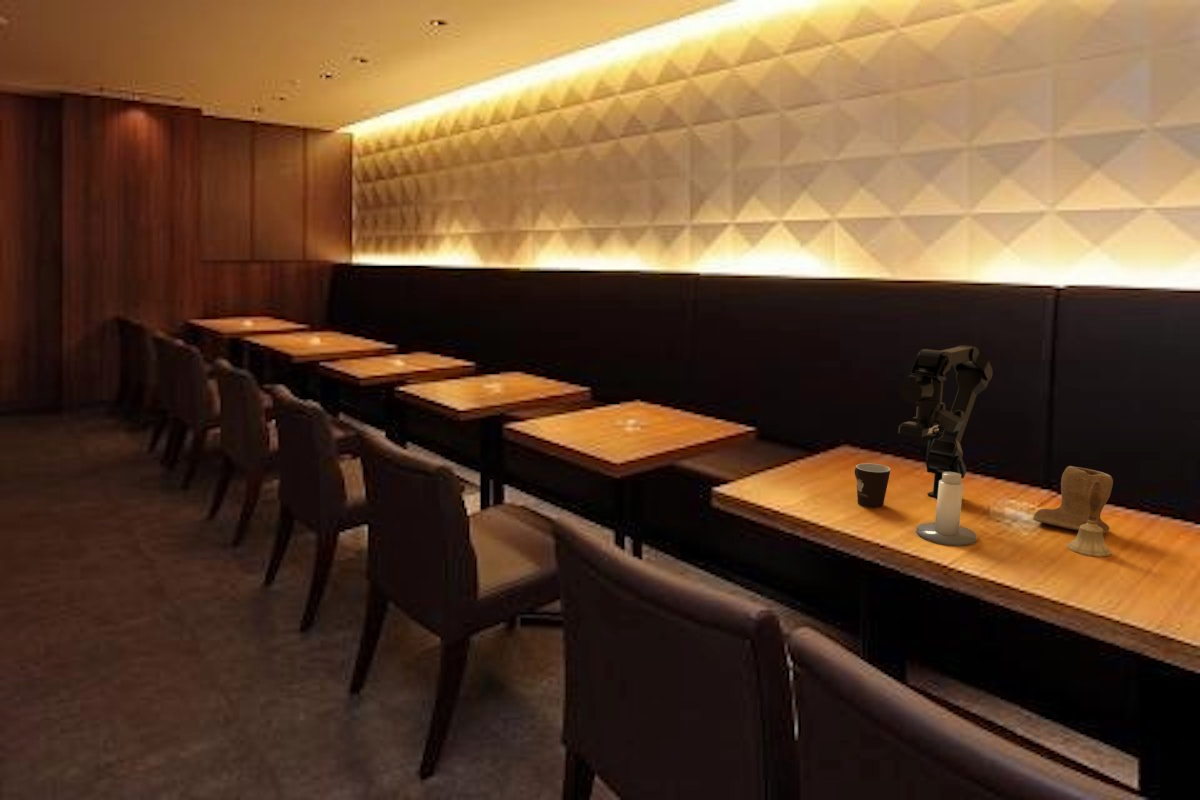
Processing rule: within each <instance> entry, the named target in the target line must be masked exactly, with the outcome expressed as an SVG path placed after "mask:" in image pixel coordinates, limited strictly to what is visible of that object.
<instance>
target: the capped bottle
mask: <svg viewBox="0 0 1200 800" xmlns="http://www.w3.org/2000/svg"><path fill="white" fill-rule="evenodd" d="M963 492H964V483H963V481H962V478H961V474H959V473H956V472H943V474H942V480H939V487H938V498H937V497H936V498H937V499H936V500H937V501H936V509H935V510H936V511H935V521H934V522H935V532H937V533H939V534H943V535H958V534H959V526H960V522H961V512H962V502H963Z"/></svg>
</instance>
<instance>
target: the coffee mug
mask: <svg viewBox="0 0 1200 800" xmlns="http://www.w3.org/2000/svg"><path fill="white" fill-rule="evenodd" d="M890 474H891V468H890V467H889V466H886V465H884V464H877V463H868V462H867V463H866V462H865V463H859V464H857V465H856V464H855V469H854V475H855V479H856V496H857V497H856V498H857V505H858V506H860V507H864V508H870V509H881V508H883V507H884V503H885V498H886V494H887V489H888V484H889V480H890Z"/></svg>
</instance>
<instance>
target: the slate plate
mask: <svg viewBox="0 0 1200 800" xmlns="http://www.w3.org/2000/svg"><path fill="white" fill-rule="evenodd" d="M915 533H916V535H917V536H918V537H920V538H922V539H923V540H925V541H928V542H932V543H935V544H937V545H939V544H940V545H946V546H952V547H953V546H955V547H957V546H958V547H959V546H960V547H962V546H965V547H966V546H970V545H973V544H975V543H976V542H977V538H978V535H977V533H976V532H975V531H974V530H971V529H969V527H965V526H963V525H959V534H958V535H943V534H939V533H937V532H935V521H933V522H931V521H930V522H924V523H920V524H918V525H917V526H916V530H915Z"/></svg>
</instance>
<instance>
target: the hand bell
mask: <svg viewBox="0 0 1200 800" xmlns="http://www.w3.org/2000/svg"><path fill="white" fill-rule="evenodd" d="M1102 494H1103V493H1102V487H1101V482H1100V481H1094V482H1093V485H1092V486H1091V488H1090V491H1089V496H1088V500H1089V506H1090V510H1089V517H1088V522H1087V523H1086V524H1083V525H1081V526H1080V528H1079V531H1078V532H1077V534H1076V537H1075V538H1074V539H1073V540H1072V541H1070V542H1069V543H1068V544H1067V549H1068V550H1070V551H1072V552H1074V553H1077V554H1079V555H1084V556H1090V557H1098V558H1100V557H1107V556H1108V557H1109V556H1110V555H1111V554H1112V552H1111V550H1110V549H1109V547H1107V545H1106V542H1105V539H1104V534H1103V529H1102V528H1101V527H1099V526H1098V525H1097V524H1096V522H1097V521H1096V520H1097V511H1098V507H1099V505H1100V503H1101V500H1102Z"/></svg>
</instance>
